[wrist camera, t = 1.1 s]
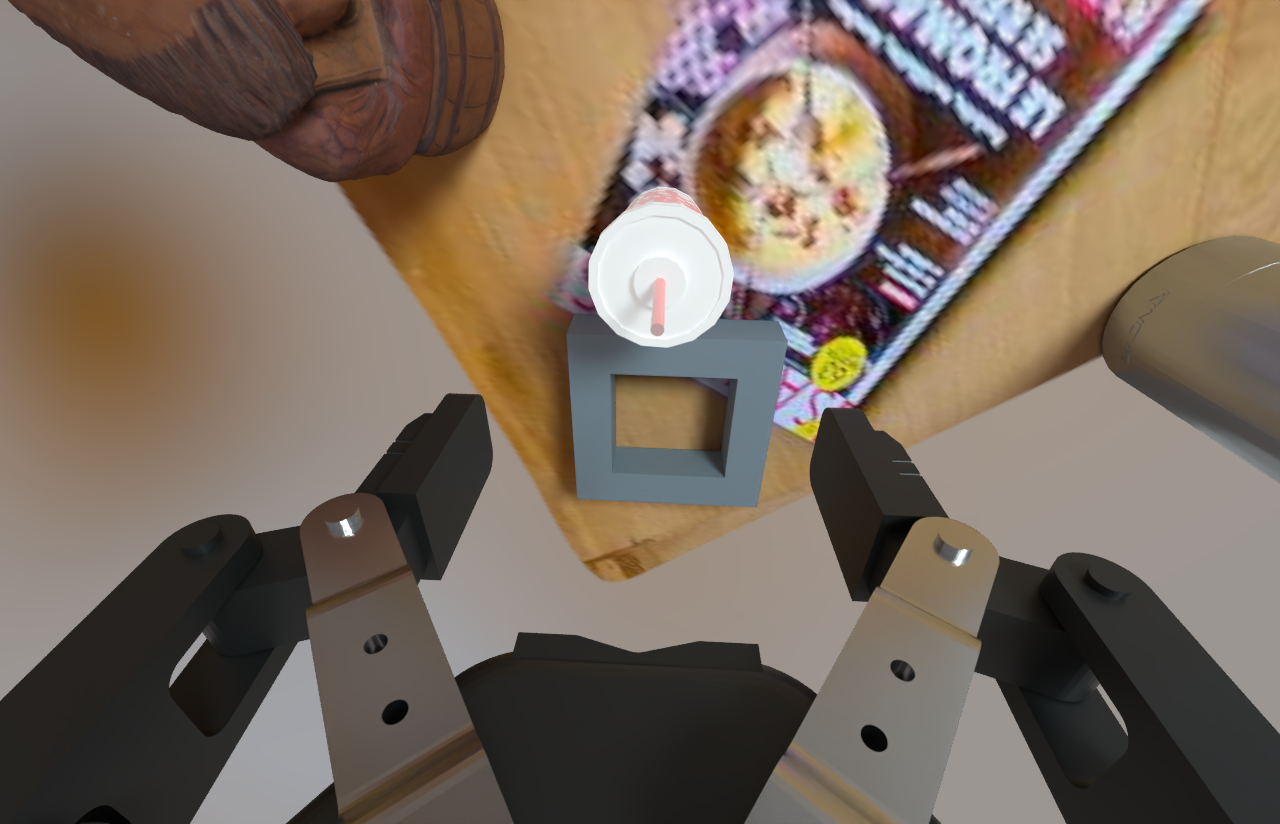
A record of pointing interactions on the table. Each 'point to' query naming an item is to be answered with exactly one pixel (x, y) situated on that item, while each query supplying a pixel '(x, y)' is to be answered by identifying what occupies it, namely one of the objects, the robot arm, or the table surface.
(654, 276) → the beverage cup
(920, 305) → the table surface
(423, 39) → the wooden figurine
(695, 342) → the hole plate
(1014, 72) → the table surface
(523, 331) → the table surface
